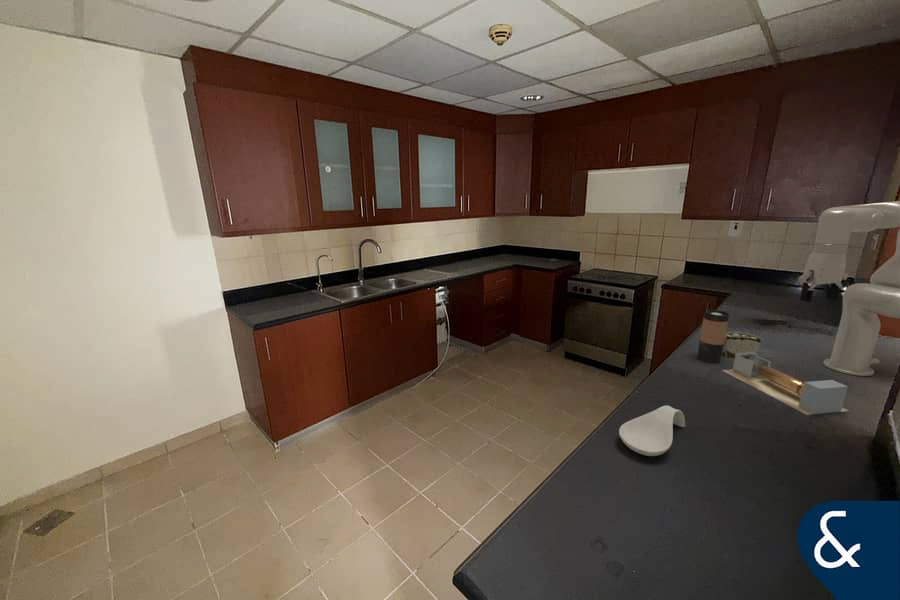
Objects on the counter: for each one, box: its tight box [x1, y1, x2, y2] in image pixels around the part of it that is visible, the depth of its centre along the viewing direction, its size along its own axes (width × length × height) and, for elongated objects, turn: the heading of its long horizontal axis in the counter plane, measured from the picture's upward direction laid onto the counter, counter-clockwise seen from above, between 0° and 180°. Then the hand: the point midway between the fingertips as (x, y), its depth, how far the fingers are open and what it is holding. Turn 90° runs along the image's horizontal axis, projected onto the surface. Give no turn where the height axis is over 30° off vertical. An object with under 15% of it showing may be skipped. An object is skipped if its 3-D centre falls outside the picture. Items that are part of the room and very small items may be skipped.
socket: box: [799, 379, 849, 415], centre depth 105 cm, size 9×4×8 cm, turn 96°
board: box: [722, 368, 850, 416], centre depth 118 cm, size 14×29×1 cm, turn 6°
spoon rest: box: [618, 405, 686, 457], centre depth 95 cm, size 24×12×7 cm, turn 126°
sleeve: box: [732, 352, 772, 380], centre depth 126 cm, size 7×7×7 cm
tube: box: [758, 366, 805, 396], centre depth 113 cm, size 18×4×4 cm, turn 6°
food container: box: [724, 331, 764, 359], centre depth 142 cm, size 12×6×10 cm, turn 71°
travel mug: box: [697, 309, 730, 365], centre depth 138 cm, size 8×8×20 cm
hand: (818, 300), depth 121 cm, fingers open, 9 cm apart
